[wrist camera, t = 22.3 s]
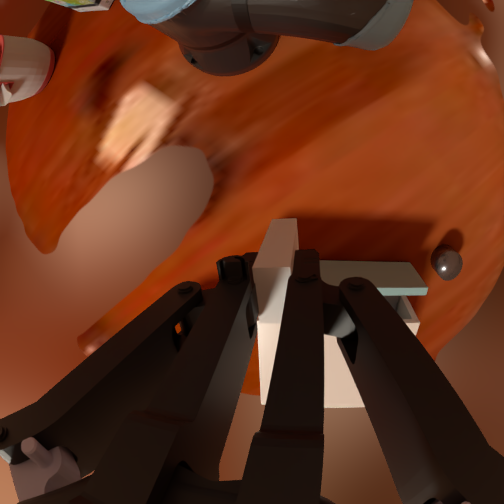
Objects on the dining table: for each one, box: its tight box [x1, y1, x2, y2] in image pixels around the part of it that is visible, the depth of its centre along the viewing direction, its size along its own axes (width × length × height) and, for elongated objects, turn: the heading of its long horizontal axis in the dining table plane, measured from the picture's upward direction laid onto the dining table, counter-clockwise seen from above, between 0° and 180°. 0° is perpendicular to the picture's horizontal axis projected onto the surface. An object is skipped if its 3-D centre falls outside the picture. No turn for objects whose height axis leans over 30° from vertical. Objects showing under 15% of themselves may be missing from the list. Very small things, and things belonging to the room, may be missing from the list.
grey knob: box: [431, 245, 463, 280], centre depth 38 cm, size 5×5×4 cm
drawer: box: [319, 260, 428, 311], centre depth 43 cm, size 24×24×9 cm
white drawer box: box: [257, 295, 420, 408], centre depth 44 cm, size 20×24×10 cm
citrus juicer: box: [0, 34, 55, 106], centre depth 29 cm, size 16×17×20 cm
